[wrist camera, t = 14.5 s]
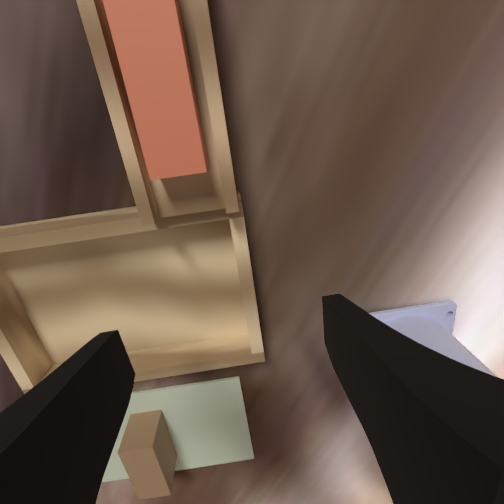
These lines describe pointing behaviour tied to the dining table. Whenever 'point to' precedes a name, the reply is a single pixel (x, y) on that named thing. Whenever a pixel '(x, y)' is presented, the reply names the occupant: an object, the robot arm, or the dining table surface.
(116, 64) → the key channel
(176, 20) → the salmon orange bar
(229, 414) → the pale green plate
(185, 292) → the wooden box
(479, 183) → the dining table surface
